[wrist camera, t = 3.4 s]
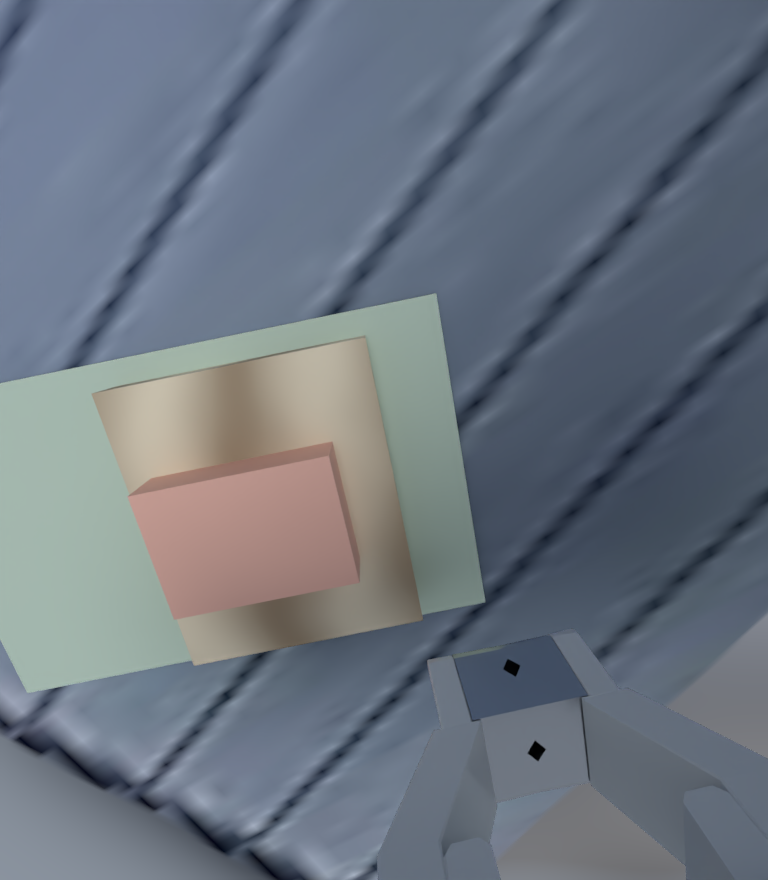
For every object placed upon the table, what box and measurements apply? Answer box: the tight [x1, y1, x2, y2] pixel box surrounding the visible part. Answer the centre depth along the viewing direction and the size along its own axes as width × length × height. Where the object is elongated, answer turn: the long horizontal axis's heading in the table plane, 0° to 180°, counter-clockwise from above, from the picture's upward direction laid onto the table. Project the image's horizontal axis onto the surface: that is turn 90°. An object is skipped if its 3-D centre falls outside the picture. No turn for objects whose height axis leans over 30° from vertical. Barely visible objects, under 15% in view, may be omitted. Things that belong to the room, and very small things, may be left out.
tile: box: [127, 442, 360, 620], centre depth 17 cm, size 7×5×2 cm
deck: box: [92, 335, 423, 666], centre depth 19 cm, size 10×12×2 cm
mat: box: [0, 293, 485, 693], centre depth 20 cm, size 22×14×1 cm, turn 101°
